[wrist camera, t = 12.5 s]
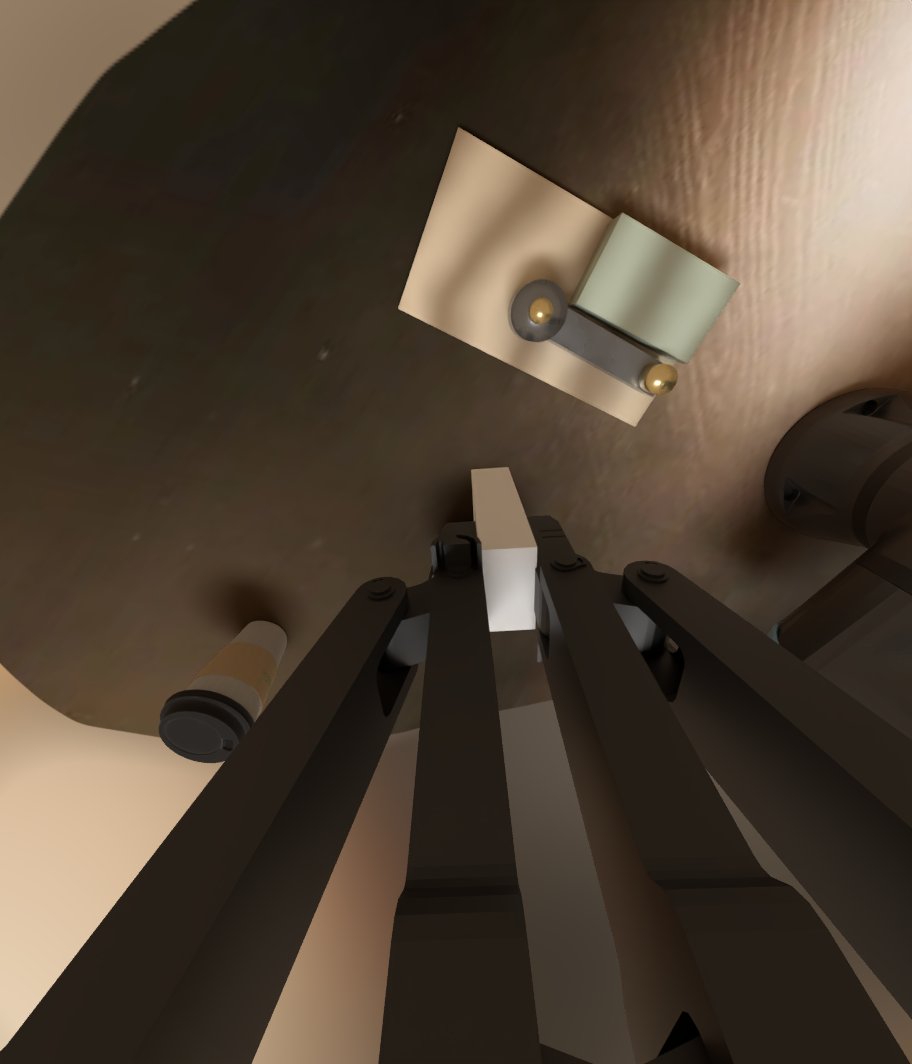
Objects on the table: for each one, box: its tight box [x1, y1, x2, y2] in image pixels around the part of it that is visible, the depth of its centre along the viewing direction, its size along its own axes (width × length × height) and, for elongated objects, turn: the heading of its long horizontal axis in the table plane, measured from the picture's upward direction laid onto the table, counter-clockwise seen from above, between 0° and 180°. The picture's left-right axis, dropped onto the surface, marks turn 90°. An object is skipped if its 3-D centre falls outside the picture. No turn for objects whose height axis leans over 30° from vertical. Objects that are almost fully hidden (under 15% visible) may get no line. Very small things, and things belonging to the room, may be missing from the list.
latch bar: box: [508, 279, 678, 397], centre depth 34 cm, size 15×4×5 cm, turn 64°
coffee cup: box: [159, 621, 287, 763], centre depth 47 cm, size 9×9×15 cm
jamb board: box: [398, 127, 740, 426], centre depth 34 cm, size 25×13×4 cm, turn 66°
